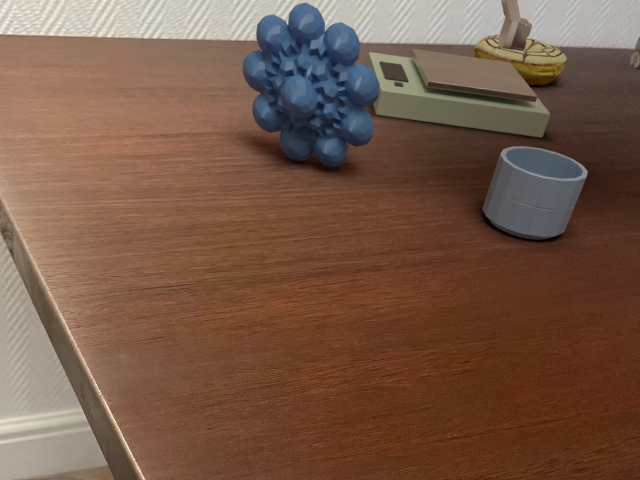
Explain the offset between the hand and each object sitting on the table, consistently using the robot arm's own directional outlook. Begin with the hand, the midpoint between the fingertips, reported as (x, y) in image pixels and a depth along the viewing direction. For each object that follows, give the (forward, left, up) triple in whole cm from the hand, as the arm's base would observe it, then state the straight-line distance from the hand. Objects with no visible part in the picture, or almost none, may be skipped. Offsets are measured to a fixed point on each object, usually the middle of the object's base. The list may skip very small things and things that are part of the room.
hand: (576, 58), depth 56 cm
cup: (0, 0, -12) cm, 12 cm away
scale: (+1, -29, -12) cm, 31 cm away
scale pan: (-1, -29, -9) cm, 30 cm away
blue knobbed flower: (+18, -6, -13) cm, 23 cm away
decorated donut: (-10, -45, -13) cm, 48 cm away
